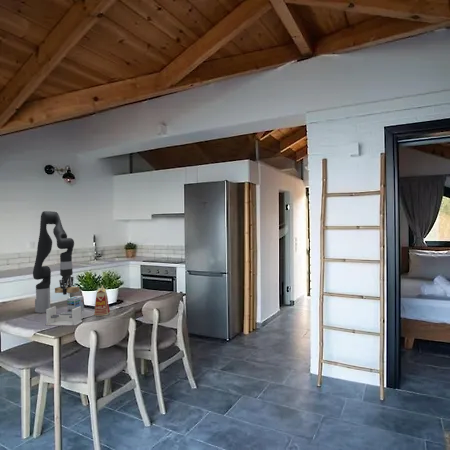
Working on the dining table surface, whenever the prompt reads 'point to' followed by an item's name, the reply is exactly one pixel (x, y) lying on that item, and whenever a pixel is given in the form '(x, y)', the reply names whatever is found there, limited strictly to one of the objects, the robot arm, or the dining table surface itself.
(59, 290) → the shelf board
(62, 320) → the peg frame
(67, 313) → the rest block
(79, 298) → the light bulb box
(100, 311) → the milk carton
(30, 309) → the dining table surface
